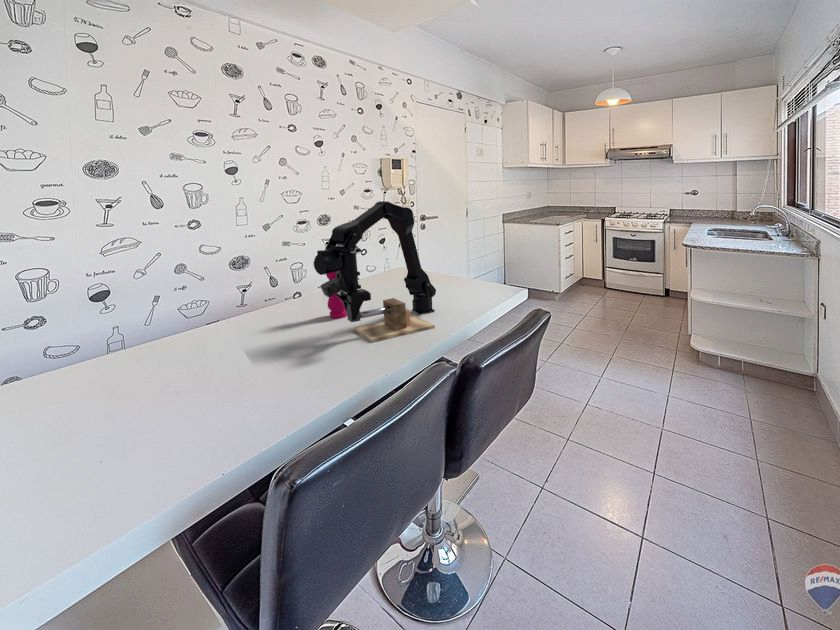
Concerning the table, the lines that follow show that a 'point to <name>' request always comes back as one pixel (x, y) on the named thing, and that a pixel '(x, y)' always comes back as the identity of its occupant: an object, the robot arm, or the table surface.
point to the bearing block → (395, 314)
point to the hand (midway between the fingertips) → (351, 318)
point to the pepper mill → (335, 302)
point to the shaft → (367, 313)
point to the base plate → (384, 332)
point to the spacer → (407, 317)
